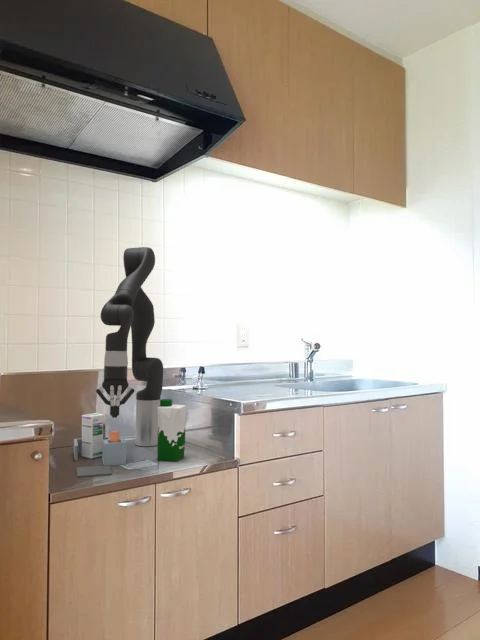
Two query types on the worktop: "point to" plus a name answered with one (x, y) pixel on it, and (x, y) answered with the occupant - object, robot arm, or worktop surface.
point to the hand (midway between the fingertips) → (114, 417)
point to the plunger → (114, 436)
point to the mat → (93, 471)
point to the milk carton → (171, 431)
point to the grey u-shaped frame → (79, 447)
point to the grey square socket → (114, 452)
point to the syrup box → (93, 434)
